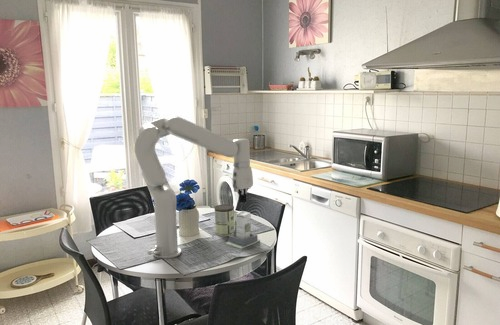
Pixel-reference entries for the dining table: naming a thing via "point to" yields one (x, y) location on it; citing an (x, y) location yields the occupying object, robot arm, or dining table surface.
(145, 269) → the dining table surface
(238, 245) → the board
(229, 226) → the coffee can
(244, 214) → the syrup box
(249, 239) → the grey square tray
